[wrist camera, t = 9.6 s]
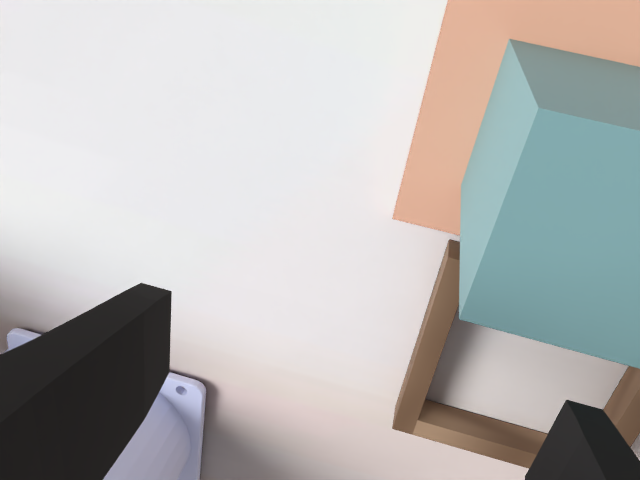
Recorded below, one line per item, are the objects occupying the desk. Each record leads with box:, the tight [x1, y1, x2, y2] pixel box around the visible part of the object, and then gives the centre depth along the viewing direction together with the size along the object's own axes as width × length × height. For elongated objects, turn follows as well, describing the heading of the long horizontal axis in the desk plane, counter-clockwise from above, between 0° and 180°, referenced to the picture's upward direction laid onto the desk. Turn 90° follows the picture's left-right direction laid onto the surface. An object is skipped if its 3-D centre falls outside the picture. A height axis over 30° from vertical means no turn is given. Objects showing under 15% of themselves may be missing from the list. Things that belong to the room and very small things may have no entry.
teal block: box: [459, 39, 640, 369], centre depth 13 cm, size 4×4×7 cm
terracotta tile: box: [392, 0, 640, 235], centre depth 16 cm, size 8×8×1 cm
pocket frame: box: [392, 240, 640, 468], centre depth 20 cm, size 8×8×1 cm
